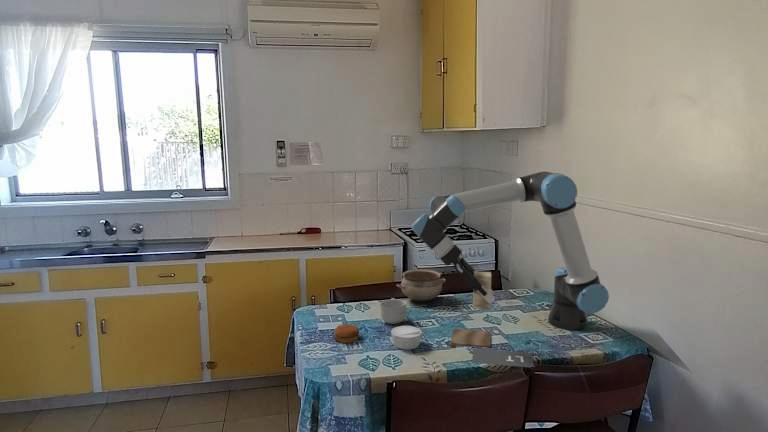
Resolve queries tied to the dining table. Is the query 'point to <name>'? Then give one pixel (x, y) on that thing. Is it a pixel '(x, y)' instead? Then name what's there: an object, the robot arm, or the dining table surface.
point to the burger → (346, 333)
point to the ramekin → (406, 337)
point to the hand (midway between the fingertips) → (492, 298)
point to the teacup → (393, 310)
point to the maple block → (478, 300)
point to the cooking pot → (421, 284)
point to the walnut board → (470, 338)
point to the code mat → (502, 358)
